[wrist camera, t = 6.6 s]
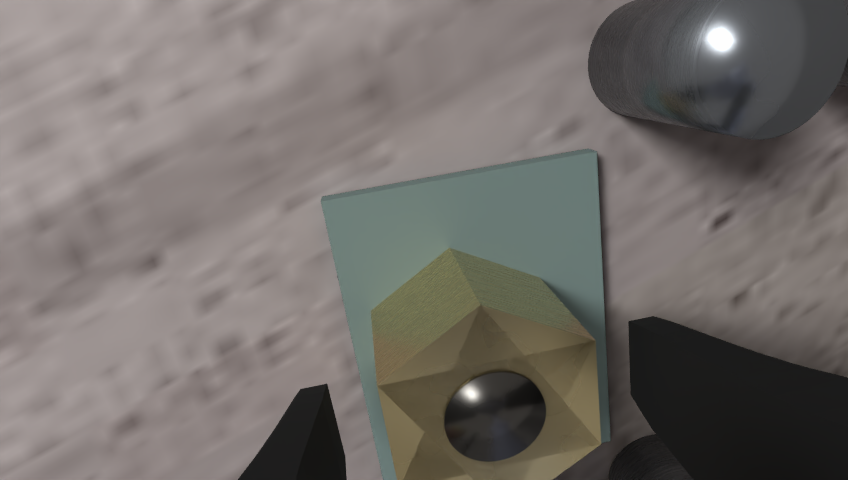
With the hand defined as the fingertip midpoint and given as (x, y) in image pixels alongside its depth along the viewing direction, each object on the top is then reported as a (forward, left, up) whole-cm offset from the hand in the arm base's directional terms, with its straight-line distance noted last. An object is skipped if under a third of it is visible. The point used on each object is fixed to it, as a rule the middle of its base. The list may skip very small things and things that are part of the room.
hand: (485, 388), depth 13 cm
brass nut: (0, 0, -2) cm, 2 cm away
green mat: (0, 0, -3) cm, 3 cm away
